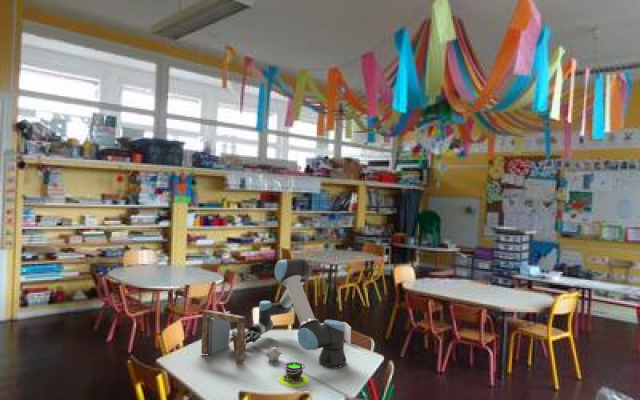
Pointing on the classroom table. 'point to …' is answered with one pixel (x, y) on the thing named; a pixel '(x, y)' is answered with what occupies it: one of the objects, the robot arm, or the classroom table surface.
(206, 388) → the classroom table surface
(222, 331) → the door
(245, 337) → the disposable coffee cup
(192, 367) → the classroom table surface
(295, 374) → the toy cauldron
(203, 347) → the door frame
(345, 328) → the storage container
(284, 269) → the robot arm
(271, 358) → the game die
